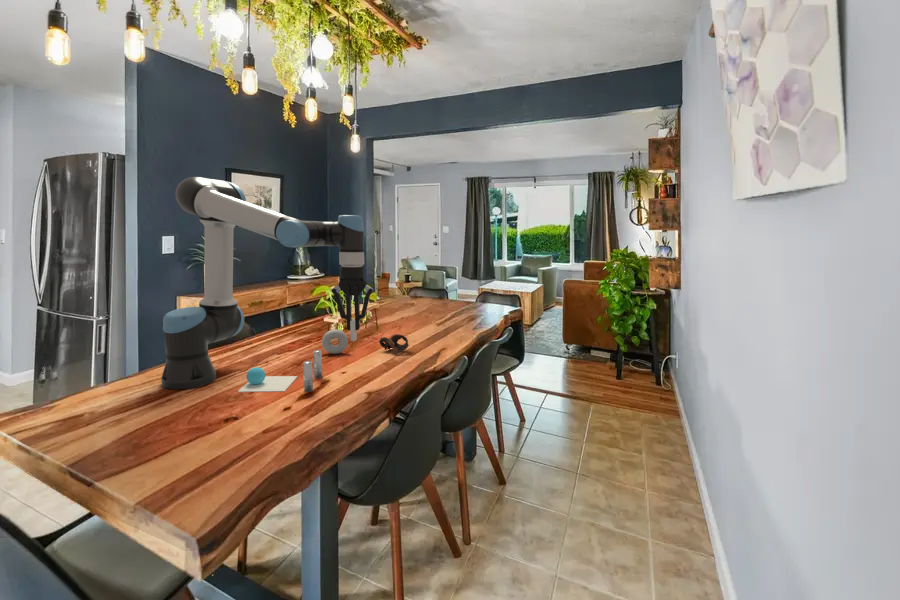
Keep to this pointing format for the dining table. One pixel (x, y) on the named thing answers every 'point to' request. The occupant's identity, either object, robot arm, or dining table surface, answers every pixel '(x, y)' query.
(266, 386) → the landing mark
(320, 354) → the post
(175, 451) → the dining table surface
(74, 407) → the dining table surface
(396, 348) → the dark brown looped sculpture
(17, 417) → the dining table surface
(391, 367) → the dining table surface
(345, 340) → the donut
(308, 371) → the post
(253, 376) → the ball
